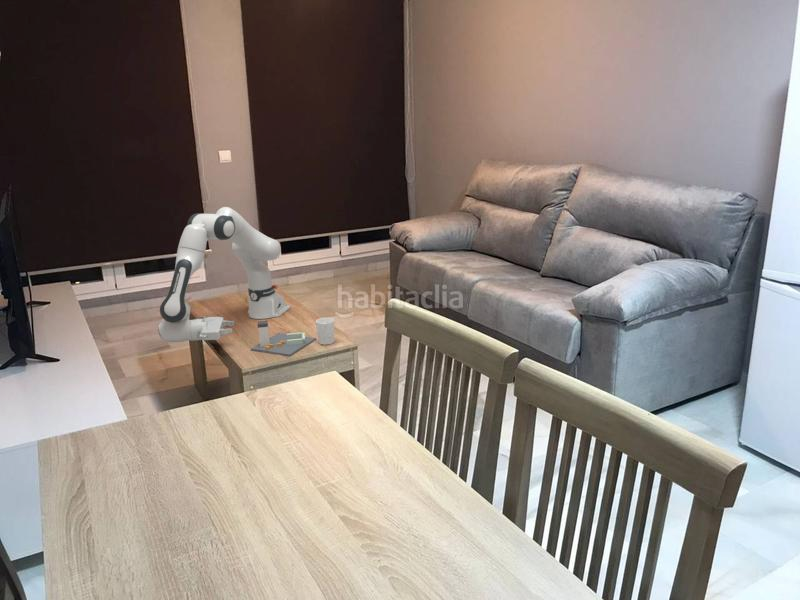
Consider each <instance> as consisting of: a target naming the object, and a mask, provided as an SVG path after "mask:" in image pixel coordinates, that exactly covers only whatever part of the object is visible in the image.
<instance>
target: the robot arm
mask: <svg viewBox="0 0 800 600" xmlns="http://www.w3.org/2000/svg"><path fill="white" fill-rule="evenodd" d="M209 240H219V241H226V240H230V241H231V242H232V244H231V250H232V251H231V252H232V253H233V255H234V256H235V257H236V258H237V259H238V260H239V261H240V262H241V264H242V265H243V267H244V269H245V273H246V276H247V284H248V290H247V291H248V310H247V314H248V317H249V318H251V319H255V320H261V319H262V320H264V319H265V320H266V319H272V318H278V317H280V316H282V315H283V314H284V313H286V312H287V311H288V310H290V309H291V305H290V304H286V301H285V300H286V299H285V298H284V296H283V295H281V294H279V293H277V292H276V291H275V290H277V289H278V288H279V287H278V285H279V284H273V282H272V274H271V273H272V272H271V271H270V268H268V267H267V266H266V265H265V264H264V263H263V261H265V262H266V261H274V260H277V259H278V258H279V257H280V255H281V252H282V247H281V244H280V242H279V241H278V240H277V239H274V238H273V237H269V236H267V235H265V234H264V233H262V232H260V231H259V230H258V229H256V228H254V227H253V226H252V225H251V224H250V223H249V222H248V221H247V220H245V218H244V217H243V216H242V215H241V214H240V213H238V212H237V211H236V210H234V209H233V208H231V207H229V206H223V207H221V208H219V209H218V210H217V211H216V213H203V212H199V213H197V212H196V213H194V214H192V215H191V216H190V217H189V218H188V220H187V225H186V226H185V227H184V229H183V231H182V234H181V236H180V239H179V243H178V246H177V251H176V258H175V266H174V273H173V276H172V280H171V283H170V287H169V291H168V293H167V296H166V297H165V298H164V300H163V301H162V302H161V304H160V307H159V314H160V316H161V318H162V319H161V321H160V323H159V324H158V327H157V328H158V330H157V331H158V335H159V337H160V339H161V341H163V342H167V343H181V342H186V341H215V340H217V341H218V340H220V339H221V337H222V336H224V335H228V334H232V333H233V328H232V327H234V326H235V321H234V320H231V321H230V320H225V319H224V317H222V316H207V317H206V316H200V317H198V318H194V319H190V317H191V307H190V304H189V303H188V302H187V301H186V300H185V297H186V293H187V289H188V286H189V283H190V279H191V277H192V276H193V275H194V274H195V273H196V272H197V271H198V270H199V269H200V267H201V266H202V264H203V261H204V259H205V254H206V249H207V244H208V243H207V242H208V241H209ZM226 326H227V327H228V326H229V327H228V328H225V329H224V327H226Z"/></svg>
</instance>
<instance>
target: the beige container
mask: <svg viewBox="0 0 800 600" xmlns="http://www.w3.org/2000/svg"><path fill="white" fill-rule="evenodd" d="M257 329H258V330H257V331H258V338H259V339H258V340H259V344H260V347H261V346H269V344H270V339H269V338H270V330H269V321H268V320H260V321H259V320H258V321H257Z"/></svg>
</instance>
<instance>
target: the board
mask: <svg viewBox="0 0 800 600" xmlns="http://www.w3.org/2000/svg"><path fill="white" fill-rule="evenodd" d="M287 334H288V333H282V332H277V333H276V334H273V335H272V336H269V339H270V344H269V346H261V347H260V343H258V344H256V345H254V346H253V347H251V348H250V351H253V352H260V353H268V354H272V355H278V354H279V355H280V356H285V357H291V356H293V355H295V354H297V352H299V351H301V350H302V349H304V348H305V346H306V345H307V346H309V345H310V344H312V343H314V342H315V341H316V340H317V338H316V337H312V336H305V342H306V343H305V344H295V345H287V340H291V339H287ZM292 339H301V338H292ZM314 340H315V341H314ZM311 342H312V343H311ZM308 344H309V345H308ZM307 346H306V347H307ZM303 347H304V348H303ZM300 349H301V350H300Z"/></svg>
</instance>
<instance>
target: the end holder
mask: <svg viewBox="0 0 800 600" xmlns="http://www.w3.org/2000/svg"><path fill="white" fill-rule="evenodd" d="M286 334H287V339H291V340H287V345H295V344H305V343H306V342H305V337H306V332H305V331H303V332H294V333H293V332H292V333H290V332H289V333H286ZM292 338H301V339H292Z"/></svg>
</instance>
